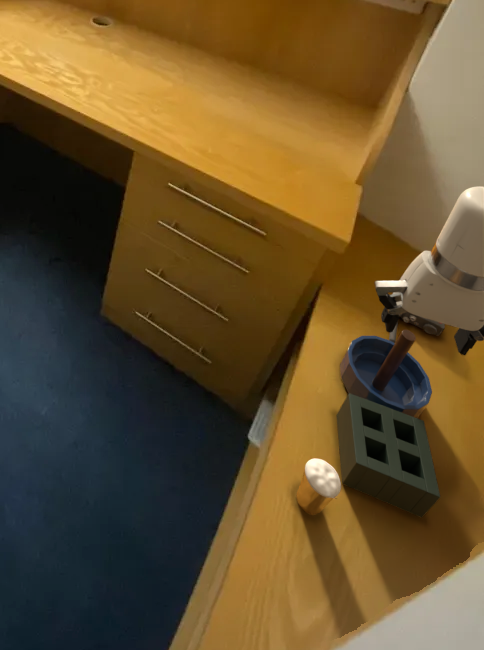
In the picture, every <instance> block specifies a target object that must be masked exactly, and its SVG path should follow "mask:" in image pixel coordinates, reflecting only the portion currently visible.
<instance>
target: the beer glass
mask: <svg viewBox="0 0 484 650" xmlns="http://www.w3.org/2000/svg"><path fill="white" fill-rule="evenodd" d="M341 489H342V481H341V479H340V476H339V473H338V472H337V471H336V469H335V467H334V466H332V465H331V464H330V463H328V462H327V461H326V460H325V459H321V458H314V457H313V458H310V459H309V460H308V461H307V462H306V463H305V465H304V470H303V473H302V477H301V481H300V483H299V486H298V489H297V492H296V494H295V496H296V500H297V504H298V506H299V507H300V508H301V509H302V511H303V512H305V513H306V514H309V515H311V516H314V515H318V514H319V513H321V512H322V511H323V510H324V509H325V508H326V507H327V505H329V504H330V503H331V502H332V501H333V500H337V499H338V498H337V497H338V496H339V494H340V493H341Z"/></svg>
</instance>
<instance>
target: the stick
mask: <svg viewBox="0 0 484 650" xmlns="http://www.w3.org/2000/svg"><path fill="white" fill-rule="evenodd" d="M416 340H417V337H416V335H415V334H414V332H412V331H411V330H409V329H403V330H402V331H400V333H399V335H398V337H397V338H396V342H395V344H394V346H393V347H392V349H391V351H390V352H389V354H388V356H387V357H386V359H385V361H384V362H383V364H382V366H381V367H380V369H379V371H378V372H377V374H376V376H375V377H374V379H373V381H372V384H373V386H374V387H375V388H376V389H377V390H379V391H383V390H384V389H385V387H386V386H387V384H388V383H389V381H390V380H391V378H392V376H393V375H394V373H395V372H396V370H397V368H398V367H399V365H400V364H401V362H402V361H403V359H404V357H405V356H406V354H407V353H409V351H410V349H411V348H412V346H413V345H414V343H415V342H416Z"/></svg>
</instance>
